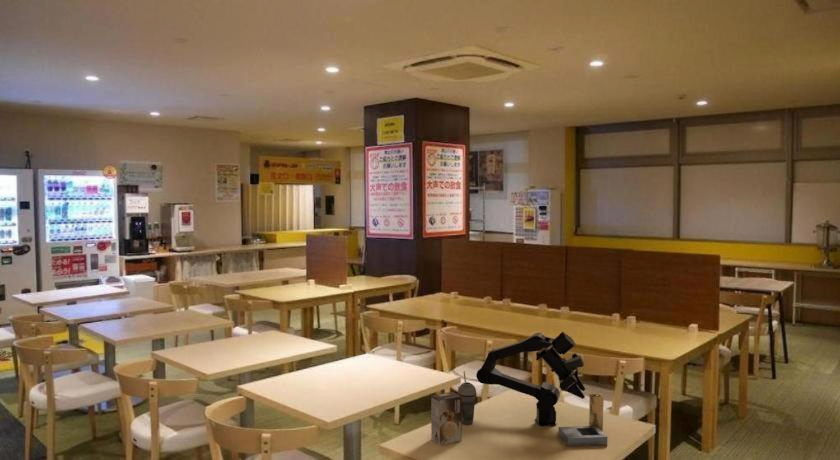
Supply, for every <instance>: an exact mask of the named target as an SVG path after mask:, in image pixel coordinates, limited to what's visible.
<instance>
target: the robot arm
mask: <svg viewBox="0 0 840 460" xmlns="http://www.w3.org/2000/svg"><path fill="white" fill-rule="evenodd" d="M575 347H576V342H575V340H574V339H573V338H572V337H571V336H569V335H568V334H567V333H565V332H564V331H561V332H559V334H558V335H557V336H556V337H555V338H552V337H548V336H546V335H544V334H543V333H541V332H535V333H533V334H532V335H530V336H528V337H527V338H524V339H523V340H521V341H518V342H515V343H512V344H509V345H505V346H502V347H499V348H493V349H491V350H490V351H489V352H488V353H487V357H486V358H485V360H484V362H483V364H482V366H481V367H480V368H479V369H478V370H477V371H476V375H475V377H476V379H477V380H478V383H480V384H483V385H491V386H492V385H493V386H494V385H498V386H501V387H504V388H507V389H511V390H513V391H516V392H518V393H522V394H526V395H529V396H530V397H533V398H534V399H536V400H537V401H536V404H535V405H536V417H535V418H534V421H535V422H536V423H537V424H538V425H539V426H541V427H542V426H543V427H544V426H557V411H556V407H555V406H556V405H557V403H558V401H559V400H560V397H561V391H562V392H567V393H568V394H571V395H574V396H576V397H577V398H580V399H582V400H583V399H585V398H586V396H585V394H584V393H583V392H584V391H586V388H585V386H584V384H583V382H582V380H581V379H580V377H579V368H583V367H584V366H585V362H584V360H583V357H582V356H581V355H580V354H578V353H577V352H575V353H571V357H570V358H568V359H566V358H565V357H562V356H561V355H566V354H567V353H568V352H569V351H570V350H572V349H573V348H575ZM524 352H525V353H526V352H527V353H528V352H529V353H531V352H532V353H533V352H536V353H535V355H536V357H535V360H536V361H537V362H539V360H540V359H542V360H543V362H544V363H545V364H546V365H548V367H549V368H550V370H551V372H552V373H555V375H556V376H557V377H558V380H559V388H560V389H561V391H560V390H559V388H558V387H556V386H555V384H550V383H548V382H546V381H543V382H542V383H541V384H534V383H533V382H532V383H531V382H529V381H526V380H522V379H520V378H517V377H514V376H510V375H508V374H506V373H503V372H501V371H500V370H499V369H497V368H496V365H497V363H498V360H501V359H505V358H508V357H511V356H514V355H517V354H518V355H519V354H521V353H524Z"/></svg>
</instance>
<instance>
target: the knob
mask: <svg viewBox="0 0 840 460" xmlns="http://www.w3.org/2000/svg"><path fill="white" fill-rule="evenodd" d="M604 398H605V397H604V394H601V393H596V392H593V393H590V394H589V399H588V400H589V404H588V405H589V406H588V407H589V408H588V409H589V412H588V426H597V427H598V428H599V429H600V430H601V431H603V429H604V401H605V400H604Z"/></svg>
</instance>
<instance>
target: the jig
mask: <svg viewBox="0 0 840 460" xmlns="http://www.w3.org/2000/svg"><path fill="white" fill-rule="evenodd" d="M557 434H558V435H557V436H559V438H561V440H562V441H563V442H564V444H565V445H566V447H569V448H570V447H571V448H572V447H593V446H594V447H595V446H608V435H607V434H605V433H604V432H603V430H600V429H599V428H598V427H597V426H589V425H581V426H578V425H577V426H575V425H574V426H558V433H557Z"/></svg>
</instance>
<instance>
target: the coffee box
mask: <svg viewBox="0 0 840 460" xmlns="http://www.w3.org/2000/svg"><path fill="white" fill-rule="evenodd" d="M430 402H431V403H430V405H431V407H430V409H431V410H430V411H431V412H430V413H431V416H430V421H431V422H430V423H431V425H430V426H431V431H430V432H431V433H430V436H431V437H430V438H431V440H432V441H433V442H434V443H436V444H437V445H438V444H439V446H440V445H441V446H445V445H449V444H455V443H459V442H462V440H463V436H462V435H463V434H462V433H463V430H462V429H463V428H462V426H463V425H462V396H460V395H458V393H456V392H453V391H449V392H444V393H436V394H431V395H430Z"/></svg>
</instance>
